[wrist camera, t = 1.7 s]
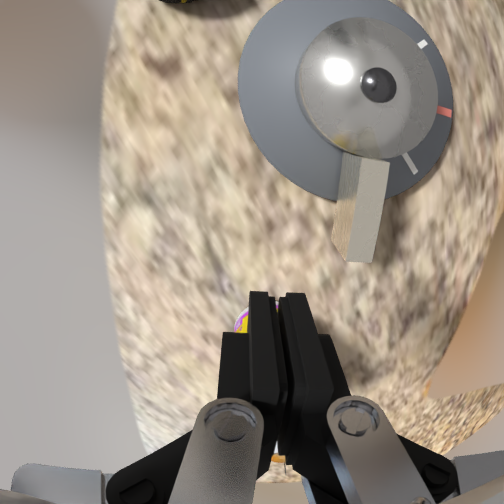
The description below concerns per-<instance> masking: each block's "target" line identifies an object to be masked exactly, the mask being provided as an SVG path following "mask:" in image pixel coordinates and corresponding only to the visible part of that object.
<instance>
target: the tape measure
mask: <svg viewBox="0 0 504 504" xmlns="http://www.w3.org/2000/svg"><path fill="white" fill-rule="evenodd" d="M159 1H163V2H168V3H190V2H192V1H194V0H159Z"/></svg>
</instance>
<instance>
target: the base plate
mask: <svg viewBox="0 0 504 504" xmlns="http://www.w3.org/2000/svg"><path fill="white" fill-rule="evenodd" d="M356 17H364V18H372V19H377V20H381V21H384V22H386V23H389V24H391V25H393V26H395V27H397V28H398V29H400V30H401V31H403V32H404V33H406V34H407V35H408V36H409V37H410V38H412V39H413V40H414V42H415V43H416V44H417V45H418V46H419V47H420V48H421V50H422V51H423V52H424V54H425V55H426V57H427V59H428V61H429V63H430V65H431V67H432V69H433V72H434V75H435V78H436V83H437V89H438V106H437V112H436V116H435V120H434V122H433V125H432V127H431V129H430V130H429V132H428V134H427V135H426V136H425V138H424V139H423V140H422V141H421V142H420V143H419V144H418V145H417V146H416V147H414V148H413V149H412V150H410V151H408V152H406V153H404V154H402V155H399V156H397V157H392V158H386V159H381V160H384V161H387V162H389V163H390V166H389V173H388V180H387V186H386V192H385V198H384V199H387V198H390V197H392V196H395V195H398V194H400V193H402V192H403V191H405V190H407V189H409V188H410V187H412V186H413V185H414V184H416V183H417V182H418V181H420V180H421V179H422V178H423V177H424V176H425V175H426V174H427V173H428V172H429V171H430V169H431V168H432V167H433V166H434V164H435V163H436V162H437V160H438V158H439V156H440V155H441V153H442V151H443V149H444V147H445V144H446V142H447V139H448V136H449V132H450V129H451V123H452V116H453V96H452V88H451V83H450V78H449V74H448V71H447V69H446V66H445V63H444V61H443V59H442V56H441V54H440V52H439V50H438V49H437V47H436V45H435V44H434V42H433V41H432V39H431V38H430V36H429V35H428V34H427V33H426V31H425V30H424V29H423V28H422V27H421V26H420V25H419V24H418V23H417V22H416V21H415V20H414V19H413V18H412V17H411V16H410V15H409V14H407V13H406V12H405V11H404V10H402V9H401V8H399V7H398V6H396V5H395V4H393V3H391V2H390V1H388V0H283V1H281V2H280V3H278V4H277V5H276V6H274V7H273V8H272V9H270V10H269V11H268V12H267V13H266V14H265V15H264V16H263V17H262V18H261V19H260V20H259V22H258V23H257V24H256V26H255V27H254V29H253V30H252V32H251V33H250V35H249V37H248V39H247V41H246V44H245V46H244V49H243V52H242V55H241V59H240V64H239V71H238V94H239V101H240V107H241V110H242V114H243V117H244V121H245V123H246V125H247V127H248V130H249V132H250V134H251V136H252V138H253V140H254V141H255V143H256V145H257V146H258V148H259V150H260V151H261V152H262V153H263V155H264V156H265V157H266V159H267V160H268V161H269V162H270V163H271V164H272V165H273V166H274V167H275V168H276V169H277V170H278V171H279V172H280V173H281V174H282V175H284V176H285V177H286V178H287V179H289V180H290V181H291V182H293V183H294V184H296V185H298V186H299V187H301V188H303V189H304V190H306V191H309V192H311V193H313V194H315V195H318V196H320V197H324V198H327V199H330V200H334V201H337V197H338V190H339V182H340V174H341V166H342V158H343V151H344V152H348V151H345V150H342V149H339V148H337V147H335V146H333V145H331V144H330V143H328V142H327V141H325V140H324V139H323V138H321V137H320V136H319V135H318V134H317V133H316V132H315V131H314V130H313V129H312V128H311V126H310V125H309V124H308V122H307V121H306V119H305V118H304V116H303V114H302V112H301V110H300V107H299V105H298V102H297V98H296V93H295V73H296V68H297V65H298V62H299V59H300V57H301V55H302V54H303V52H304V51H305V49H306V48H307V47H308V45H309V44H310V43H311V42H312V41H313V40H314V39H315V37H316V36H317V35H318V34H319V33H320V32H321V31H323V30H324V29H325V28H326V27H328V26H330V25H331V24H333V23H335V22H338V21H340V20H343V19H348V18H356Z"/></svg>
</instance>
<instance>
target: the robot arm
mask: <svg viewBox="0 0 504 504" xmlns="http://www.w3.org/2000/svg"><path fill="white" fill-rule="evenodd" d="M276 443H277V447H278V455H279V456H285V461H286V465H292V467H293V470H295V471H296V472H298V473H299V474H301V478H302V484H303V486H304V490H305V493H306V496H307V499H308V502H309V504H504V451H495V452H489V453H482V454H475V455H467V456H458V457H454V458H453V459H452V460H449V459H447V458H445V457H444V456H442V455H440V454H437V453H435V452H433V451H431V450H429V449H427V448H425V447H423V446H420V445H418V444H416V443H414V442H412V441H410V440H408V439H406V438H404V437H402V436H400V435H398V434H396V432H395V430H394V429H393V427H392V425H391V424H390V422H389V420H388V419H387V417H386V415H385V413H384V412H383V410H382V409H381V408H380V407H379V405H378V404H376V403H375V402H373V401H372V400H370V399H367V398H365V397H361V396H351V394H350V391H349V388H348V385H347V382H346V379H345V376H344V373H343V370H342V367H341V364H340V361H339V359H338V356H337V353H336V350H335V347H334V344H333V341H332V339H331V337H330V335H328V334H318V333H317V330H316V327H315V323H314V320H313V317H312V314H311V311H310V307H309V304H308V301H307V298H306V295H305V293H286V296H285V297H280V298H279V303H278V311H277V308H276V302H275V297H269V296H268V292H260V291H250V295H249V309H248V324H247V333H236V332H223V337H222V348H221V359H220V370H219V382H218V394H217V399H216V400H214V401H212V402H209V403H208V404H206V405H205V406H204V407H203V408H202V409H201V410H200V412H199V414H198V416H197V419H196V422H195V425H194V428H193V430H191V431H190V432H188V433H186V434H185V435H183V436H181V437H180V438H178V439H176V440H174V441H173V442H171V443H169V444H168V445H166V446H164V447H162V448H161V449H159V450H157V451H155V452H153V453H152V454H150V455H148V456H146V457H144V458H142V459H140V460H139V461H137V462H135V463H133V464H131V465H129V466H127V467H125V468H123V469H121V470H119V471H118V472H117V473H115V474H104V473H102V471H100V470H86V469H74V468H64V467H55V466H48V465H41V464H26V465H23V466H21V467H19V469H18V470H17V471H16V472H15V473H14V476H13V479H12V485H11V491H8V490H2V489H0V504H252V502H253V495H254V490H255V483H256V480H257V479H258V478H260V477H261V476H262V475H263V474H264V473H266V472H267V471H268V470H269V466H270V462H271V458H272V456H273V455H274V451H275V447H276Z"/></svg>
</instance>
